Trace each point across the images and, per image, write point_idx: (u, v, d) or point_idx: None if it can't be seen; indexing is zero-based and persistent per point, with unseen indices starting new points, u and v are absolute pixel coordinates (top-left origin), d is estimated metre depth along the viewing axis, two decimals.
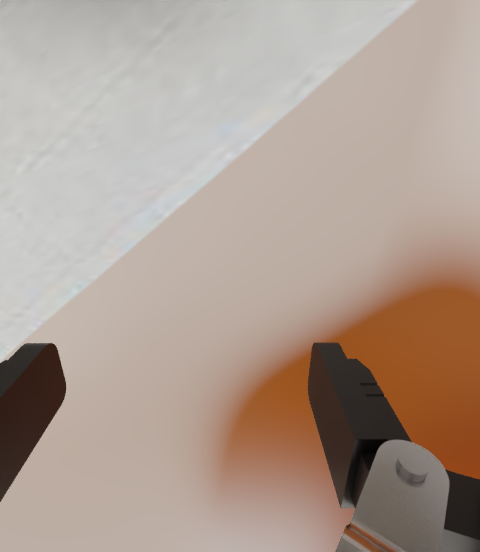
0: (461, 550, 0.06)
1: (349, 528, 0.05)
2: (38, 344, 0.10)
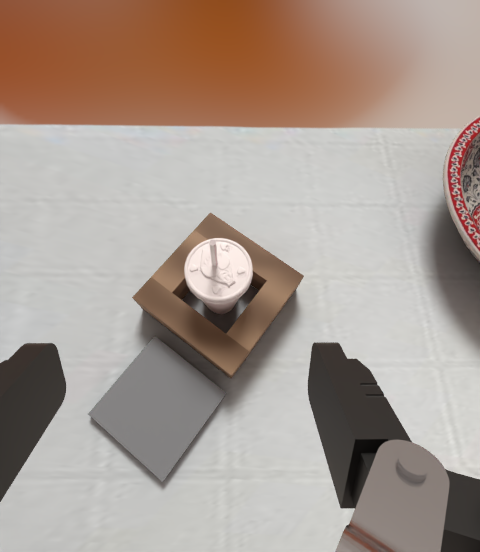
0: (461, 550, 0.06)
1: (349, 528, 0.05)
2: (38, 344, 0.10)
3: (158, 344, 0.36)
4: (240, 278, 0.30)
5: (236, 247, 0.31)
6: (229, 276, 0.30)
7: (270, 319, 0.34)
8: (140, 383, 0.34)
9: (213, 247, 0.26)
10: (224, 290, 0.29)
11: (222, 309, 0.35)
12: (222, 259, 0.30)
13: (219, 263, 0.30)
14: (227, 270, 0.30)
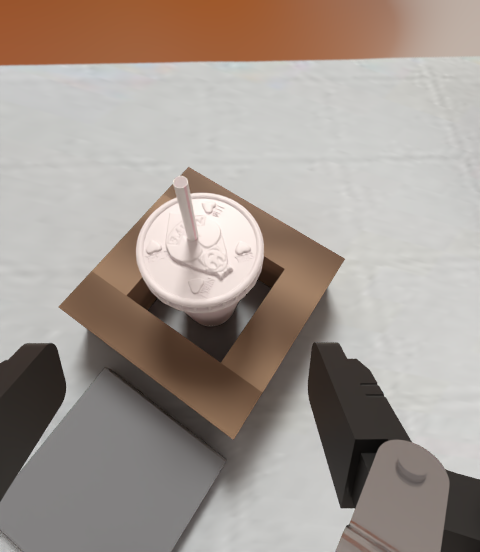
0: (461, 550, 0.06)
1: (349, 528, 0.05)
2: (38, 344, 0.10)
3: (110, 382, 0.22)
4: (241, 262, 0.16)
5: (232, 207, 0.17)
6: (221, 259, 0.16)
7: (295, 333, 0.20)
8: (78, 452, 0.20)
9: (183, 194, 0.12)
10: (212, 286, 0.15)
11: (213, 320, 0.21)
12: (207, 229, 0.16)
13: (201, 236, 0.16)
14: (217, 248, 0.16)
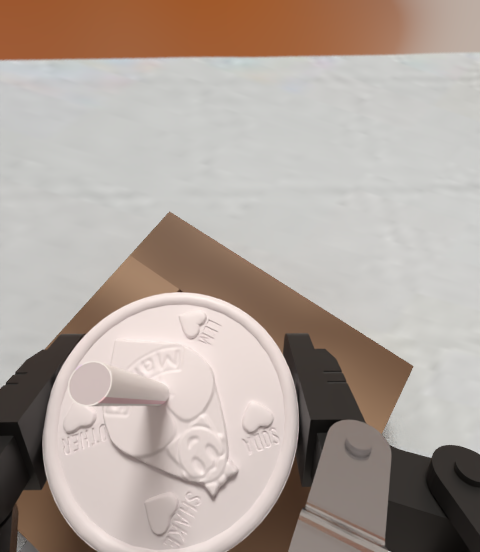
0: (401, 519, 0.06)
1: (305, 510, 0.05)
2: (74, 334, 0.10)
3: None
4: (255, 452, 0.08)
5: (236, 324, 0.09)
6: (214, 450, 0.08)
7: None
8: None
9: (104, 405, 0.04)
10: (195, 512, 0.07)
11: None
12: (186, 377, 0.08)
13: (175, 394, 0.08)
14: (205, 423, 0.08)
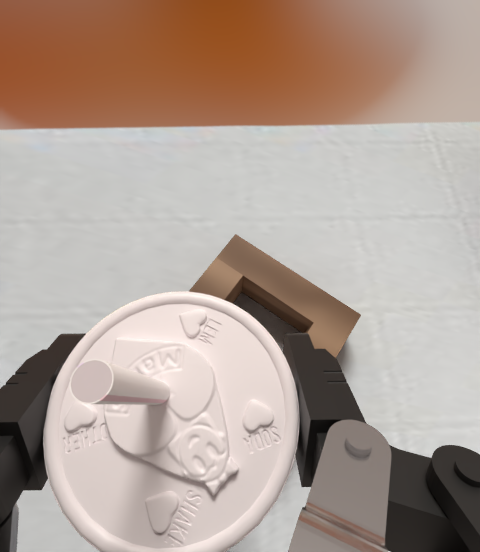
0: (401, 519, 0.06)
1: (305, 509, 0.05)
2: (74, 334, 0.10)
3: None
4: (255, 450, 0.08)
5: (236, 323, 0.09)
6: (214, 449, 0.08)
7: None
8: None
9: (105, 403, 0.04)
10: (196, 511, 0.07)
11: None
12: (187, 375, 0.08)
13: (176, 393, 0.08)
14: (206, 421, 0.08)
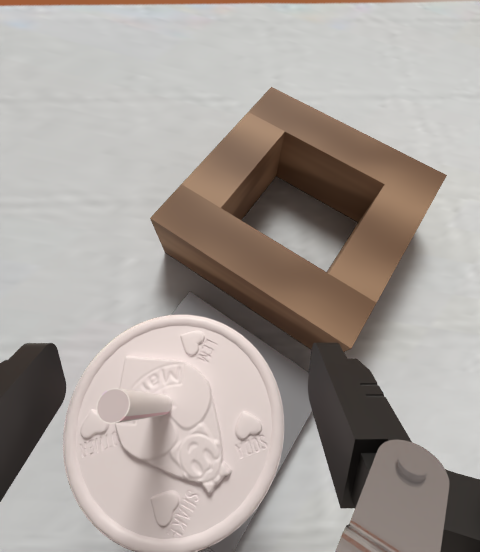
0: (461, 550, 0.06)
1: (349, 528, 0.05)
2: (38, 344, 0.10)
3: (196, 305, 0.21)
4: (245, 456, 0.09)
5: (230, 343, 0.10)
6: (210, 454, 0.09)
7: (404, 246, 0.19)
8: None
9: (123, 422, 0.06)
10: (194, 507, 0.09)
11: None
12: (187, 390, 0.09)
13: (177, 406, 0.09)
14: (203, 431, 0.09)
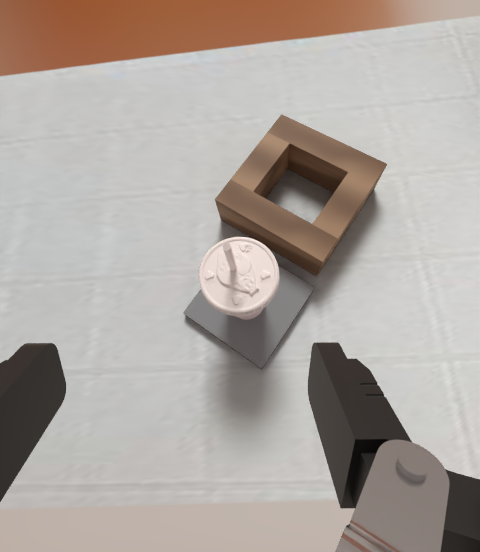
0: (461, 550, 0.06)
1: (349, 528, 0.05)
2: (38, 344, 0.10)
3: None
4: (264, 284, 0.25)
5: (258, 246, 0.26)
6: (251, 282, 0.25)
7: (356, 207, 0.33)
8: None
9: (228, 252, 0.22)
10: (246, 300, 0.25)
11: (248, 316, 0.31)
12: (242, 262, 0.25)
13: (238, 267, 0.25)
14: (248, 275, 0.25)
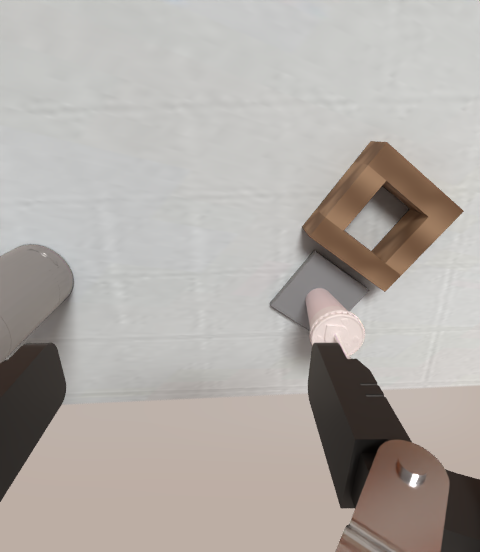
0: (461, 550, 0.06)
1: (349, 528, 0.05)
2: (38, 344, 0.10)
3: (318, 258, 0.45)
4: (353, 344, 0.39)
5: (354, 321, 0.37)
6: (346, 344, 0.38)
7: (423, 250, 0.41)
8: (306, 286, 0.46)
9: (347, 358, 0.34)
10: None
11: None
12: (342, 332, 0.38)
13: (339, 336, 0.38)
14: (345, 340, 0.38)
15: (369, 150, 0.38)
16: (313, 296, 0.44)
